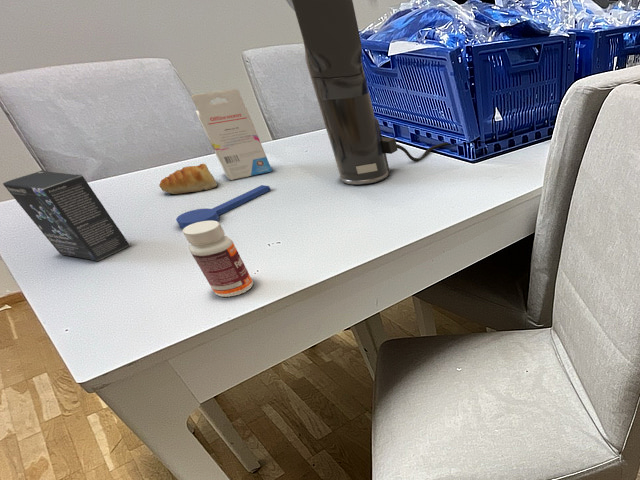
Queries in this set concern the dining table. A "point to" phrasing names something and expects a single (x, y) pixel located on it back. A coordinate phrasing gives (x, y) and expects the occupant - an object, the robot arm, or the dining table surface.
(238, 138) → the ink box
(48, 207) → the box
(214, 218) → the spoon
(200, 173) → the pastry
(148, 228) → the dining table surface
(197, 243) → the pill bottle
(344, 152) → the robot arm
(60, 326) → the dining table surface
